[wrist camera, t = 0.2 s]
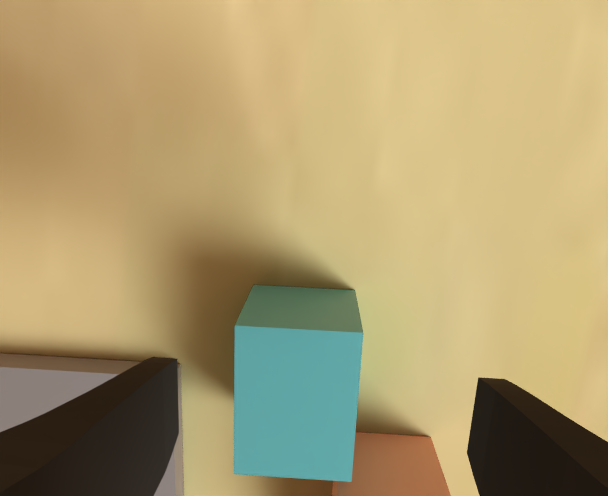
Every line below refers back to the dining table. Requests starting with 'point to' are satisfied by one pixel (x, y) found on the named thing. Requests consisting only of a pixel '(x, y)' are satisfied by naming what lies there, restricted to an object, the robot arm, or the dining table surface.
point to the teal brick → (297, 383)
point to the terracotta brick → (393, 467)
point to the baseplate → (69, 396)
